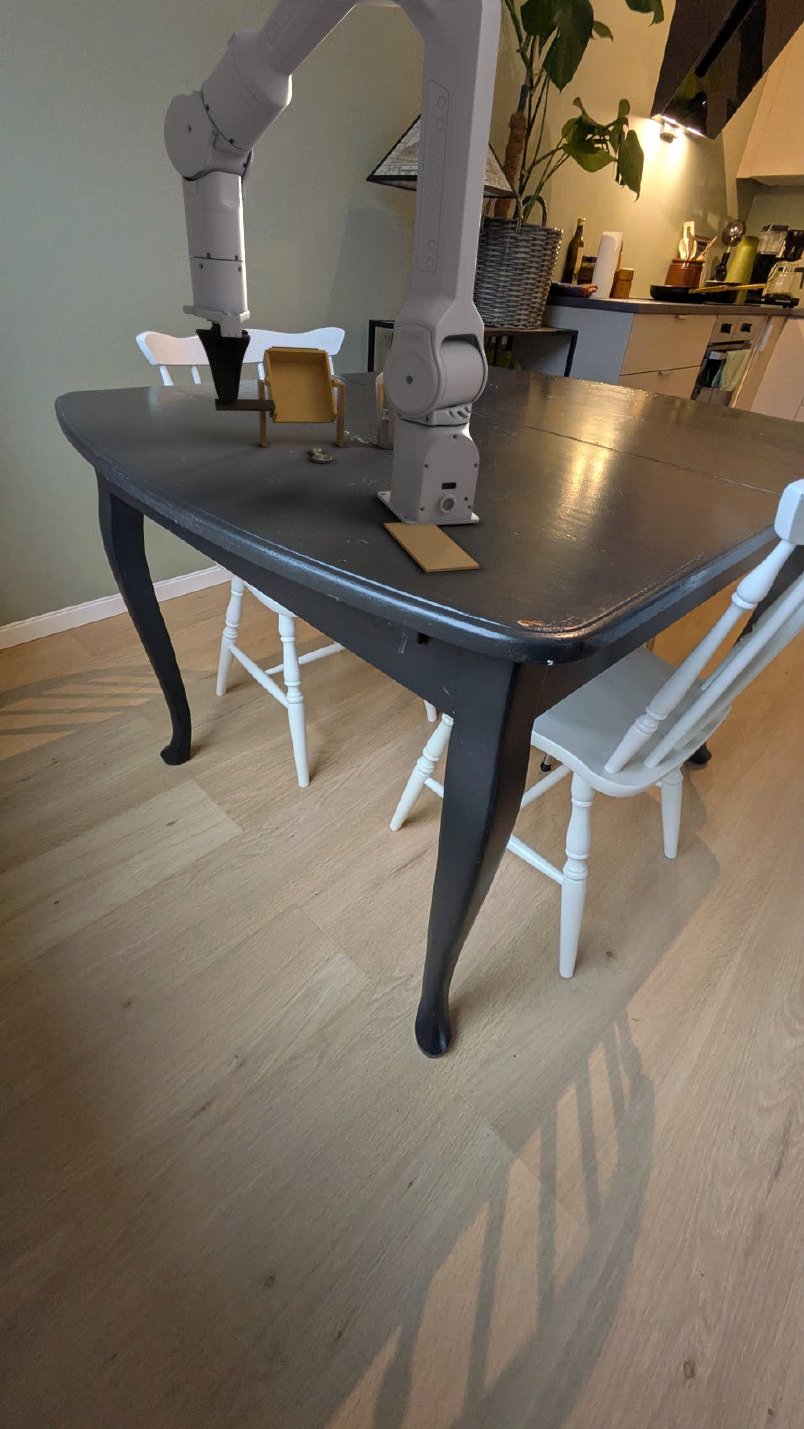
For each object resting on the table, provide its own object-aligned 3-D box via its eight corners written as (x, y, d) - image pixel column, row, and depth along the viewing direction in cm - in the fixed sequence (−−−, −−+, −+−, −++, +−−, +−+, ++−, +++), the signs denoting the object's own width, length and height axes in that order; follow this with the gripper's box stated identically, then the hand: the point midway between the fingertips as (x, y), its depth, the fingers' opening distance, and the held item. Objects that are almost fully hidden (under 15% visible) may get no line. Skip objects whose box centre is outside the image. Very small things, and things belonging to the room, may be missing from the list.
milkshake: (407, 442, 89) (414, 362, 83) (403, 452, 84) (410, 368, 78) (375, 439, 89) (379, 358, 83) (370, 448, 85) (374, 364, 79)
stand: (343, 446, 84) (345, 384, 80) (262, 447, 81) (259, 382, 76) (340, 443, 85) (341, 381, 81) (260, 443, 82) (257, 379, 78)
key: (321, 448, 81) (321, 451, 81) (303, 448, 80) (303, 452, 80) (334, 459, 77) (333, 463, 77) (315, 460, 76) (315, 463, 77)
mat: (478, 568, 55) (479, 565, 55) (426, 572, 53) (426, 569, 53) (430, 523, 63) (431, 520, 63) (383, 526, 61) (383, 523, 61)
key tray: (337, 423, 83) (343, 411, 80) (215, 422, 77) (216, 410, 75) (327, 357, 83) (332, 343, 80) (204, 352, 77) (205, 337, 75)
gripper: (172, 253, 71) (186, 387, 79) (184, 258, 60) (199, 413, 68) (236, 258, 73) (244, 388, 81) (258, 265, 62) (265, 414, 70)
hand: (227, 400), depth 75 cm, fingers closed
